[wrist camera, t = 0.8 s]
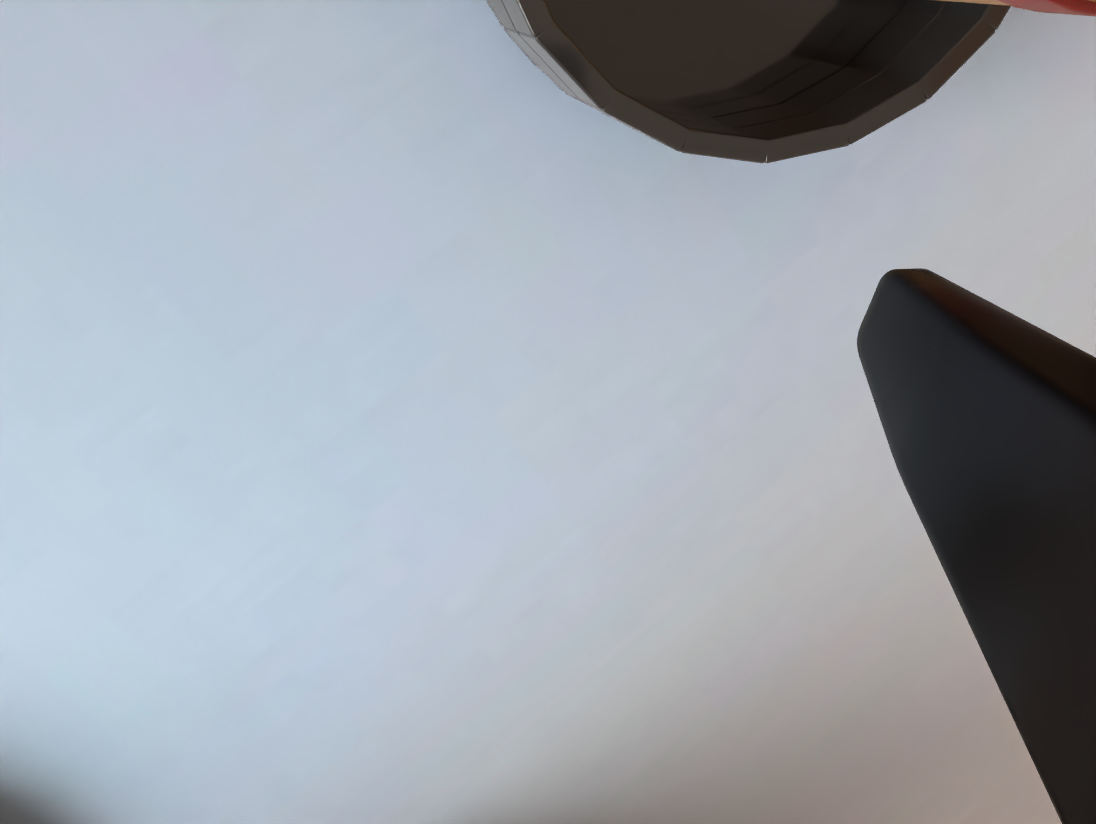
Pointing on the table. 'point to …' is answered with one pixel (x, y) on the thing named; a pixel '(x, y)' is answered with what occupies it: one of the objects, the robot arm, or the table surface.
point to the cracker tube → (1045, 5)
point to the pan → (750, 65)
